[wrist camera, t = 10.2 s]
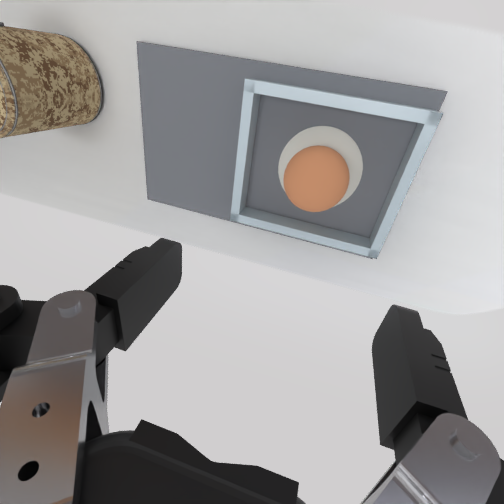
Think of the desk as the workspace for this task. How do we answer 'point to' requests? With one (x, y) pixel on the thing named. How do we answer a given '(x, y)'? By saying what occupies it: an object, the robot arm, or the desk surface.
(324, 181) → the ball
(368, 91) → the mat
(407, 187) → the square tray
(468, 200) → the desk surface
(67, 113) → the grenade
